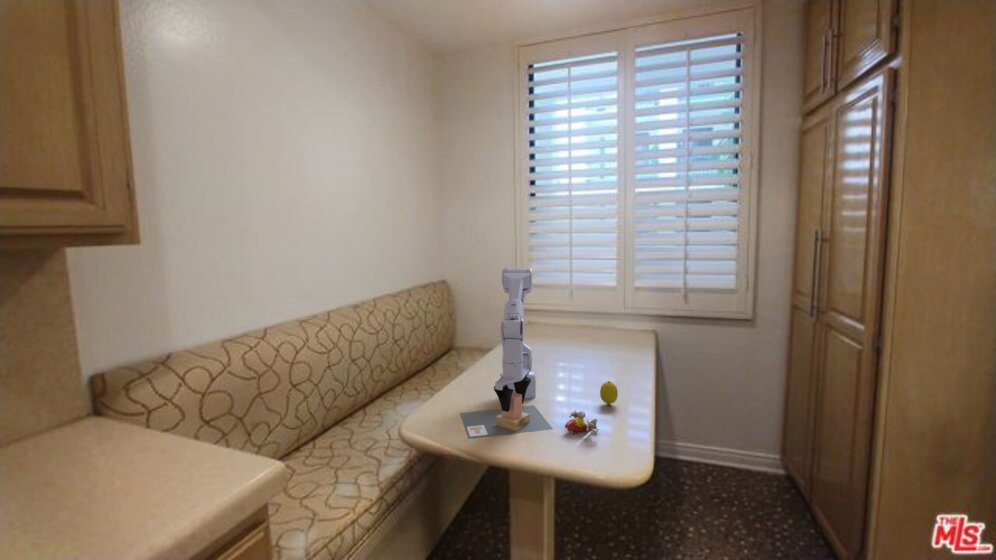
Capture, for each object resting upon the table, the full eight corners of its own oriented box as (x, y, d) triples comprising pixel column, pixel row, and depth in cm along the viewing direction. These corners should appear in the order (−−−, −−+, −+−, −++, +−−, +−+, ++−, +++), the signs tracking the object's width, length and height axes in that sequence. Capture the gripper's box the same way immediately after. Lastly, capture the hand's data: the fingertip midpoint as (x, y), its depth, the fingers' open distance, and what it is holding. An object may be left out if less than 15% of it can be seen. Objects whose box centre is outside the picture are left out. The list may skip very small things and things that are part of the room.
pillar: (510, 411, 130) (510, 391, 129) (521, 414, 128) (521, 394, 127) (502, 415, 127) (502, 395, 126) (514, 419, 124) (514, 399, 124)
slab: (510, 416, 132) (510, 408, 132) (529, 422, 128) (529, 414, 128) (496, 424, 127) (496, 416, 126) (516, 431, 123) (516, 422, 122)
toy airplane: (563, 436, 121) (563, 414, 120) (571, 423, 129) (571, 402, 128) (596, 443, 117) (597, 420, 117) (602, 428, 126) (603, 407, 125)
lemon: (618, 402, 144) (618, 379, 143) (616, 409, 138) (617, 384, 138) (600, 400, 145) (601, 377, 145) (598, 407, 140) (599, 383, 139)
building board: (534, 407, 140) (534, 404, 140) (552, 431, 124) (552, 428, 124) (459, 415, 135) (459, 412, 135) (468, 441, 119) (468, 438, 118)
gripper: (515, 352, 133) (515, 395, 135) (486, 364, 122) (486, 411, 123) (535, 356, 129) (535, 400, 131) (507, 369, 117) (507, 417, 119)
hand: (512, 406), depth 127 cm, fingers open, 7 cm apart
